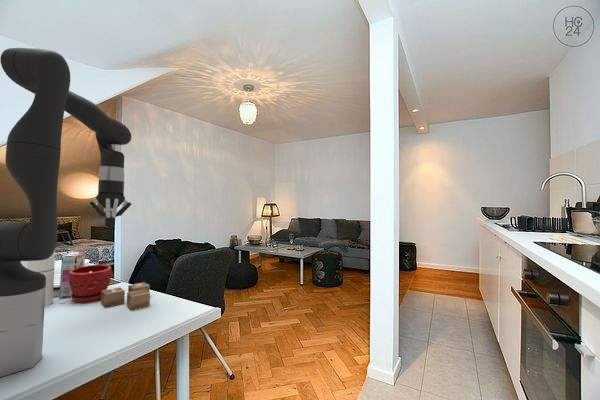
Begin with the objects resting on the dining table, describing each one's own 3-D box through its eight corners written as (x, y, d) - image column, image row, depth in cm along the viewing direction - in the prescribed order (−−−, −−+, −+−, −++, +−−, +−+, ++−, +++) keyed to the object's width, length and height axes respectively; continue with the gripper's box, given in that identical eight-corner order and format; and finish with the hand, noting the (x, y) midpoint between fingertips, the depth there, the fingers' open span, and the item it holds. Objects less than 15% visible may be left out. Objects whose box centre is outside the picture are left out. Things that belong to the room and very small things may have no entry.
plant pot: (67, 297, 104) (69, 267, 104) (108, 291, 113) (109, 263, 113) (67, 307, 94) (69, 274, 95) (112, 299, 103) (113, 269, 103)
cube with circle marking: (149, 297, 107) (149, 284, 107) (132, 301, 102) (132, 288, 102) (144, 294, 111) (144, 281, 111) (127, 297, 106) (128, 284, 106)
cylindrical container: (19, 309, 92) (23, 237, 92) (34, 301, 98) (37, 235, 99) (44, 307, 94) (48, 237, 94) (57, 300, 100) (60, 235, 101)
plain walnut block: (149, 306, 97) (150, 293, 98) (130, 311, 93) (131, 296, 93) (144, 302, 102) (145, 289, 102) (126, 306, 97) (127, 292, 97)
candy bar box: (74, 297, 105) (76, 255, 105) (58, 298, 103) (60, 256, 103) (84, 288, 115) (85, 251, 115) (69, 289, 113) (71, 251, 113)
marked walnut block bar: (124, 304, 99) (124, 290, 99) (104, 308, 95) (105, 293, 95) (119, 299, 103) (120, 286, 103) (100, 303, 99) (101, 290, 99)
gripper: (90, 177, 87) (88, 229, 87) (135, 181, 97) (133, 228, 96) (86, 178, 92) (84, 228, 92) (129, 182, 102) (127, 226, 102)
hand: (109, 228), depth 94 cm, fingers closed
